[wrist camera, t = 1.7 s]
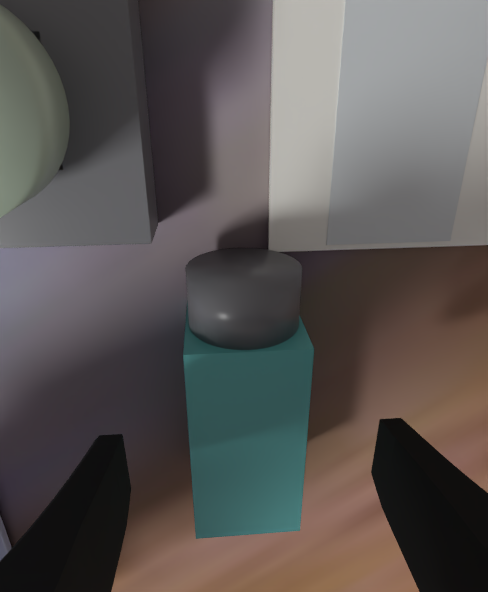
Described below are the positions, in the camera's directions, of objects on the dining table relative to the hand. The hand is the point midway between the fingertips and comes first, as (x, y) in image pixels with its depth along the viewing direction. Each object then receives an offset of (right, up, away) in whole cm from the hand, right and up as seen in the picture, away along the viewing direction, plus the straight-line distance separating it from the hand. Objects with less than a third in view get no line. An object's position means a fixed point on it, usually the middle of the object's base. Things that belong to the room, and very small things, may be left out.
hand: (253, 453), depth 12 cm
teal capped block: (0, +2, +4) cm, 5 cm away
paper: (+5, +10, +1) cm, 11 cm away
